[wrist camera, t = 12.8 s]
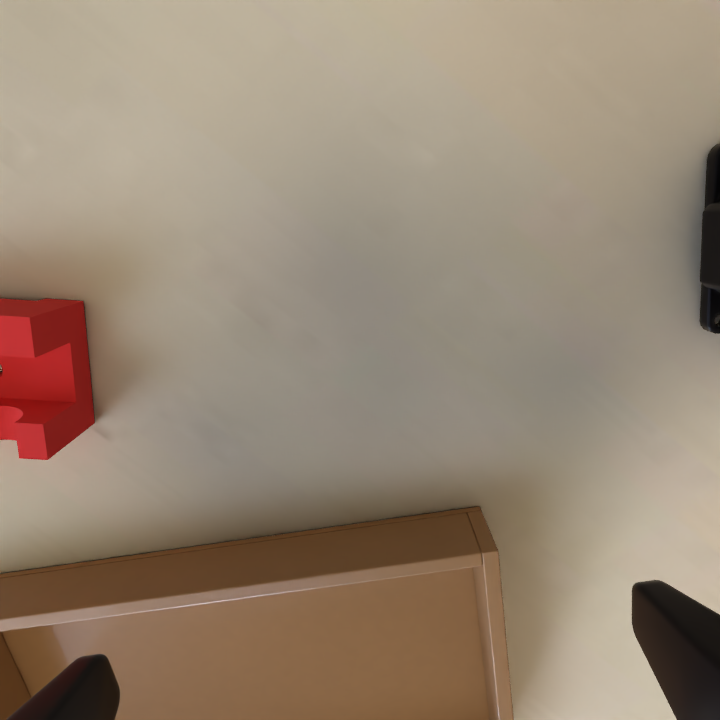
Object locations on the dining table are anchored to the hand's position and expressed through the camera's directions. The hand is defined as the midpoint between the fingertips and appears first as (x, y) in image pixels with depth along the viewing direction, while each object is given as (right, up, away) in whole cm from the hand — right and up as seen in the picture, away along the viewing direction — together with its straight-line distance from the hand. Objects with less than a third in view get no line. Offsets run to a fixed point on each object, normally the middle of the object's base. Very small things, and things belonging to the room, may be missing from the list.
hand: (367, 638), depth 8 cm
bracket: (-14, +5, +10) cm, 18 cm away
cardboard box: (-5, -9, +14) cm, 18 cm away
